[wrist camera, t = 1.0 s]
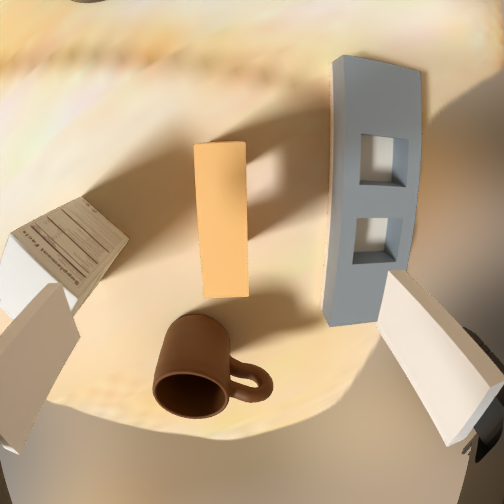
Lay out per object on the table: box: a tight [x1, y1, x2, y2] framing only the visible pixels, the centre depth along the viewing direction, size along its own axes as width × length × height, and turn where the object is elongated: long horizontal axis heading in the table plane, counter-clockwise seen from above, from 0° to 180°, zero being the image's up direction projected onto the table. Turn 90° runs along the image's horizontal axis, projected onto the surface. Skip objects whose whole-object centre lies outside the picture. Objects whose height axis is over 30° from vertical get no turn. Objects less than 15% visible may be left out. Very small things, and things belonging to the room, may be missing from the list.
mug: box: [153, 315, 273, 419], centre depth 30 cm, size 12×8×9 cm, turn 82°
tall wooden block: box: [194, 141, 249, 298], centre depth 23 cm, size 10×3×10 cm, turn 1°
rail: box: [320, 55, 422, 327], centre depth 27 cm, size 26×8×4 cm, turn 1°
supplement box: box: [0, 197, 129, 320], centre depth 23 cm, size 7×7×13 cm
